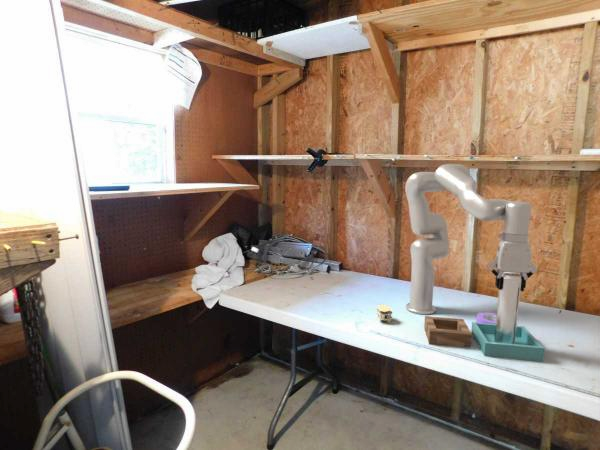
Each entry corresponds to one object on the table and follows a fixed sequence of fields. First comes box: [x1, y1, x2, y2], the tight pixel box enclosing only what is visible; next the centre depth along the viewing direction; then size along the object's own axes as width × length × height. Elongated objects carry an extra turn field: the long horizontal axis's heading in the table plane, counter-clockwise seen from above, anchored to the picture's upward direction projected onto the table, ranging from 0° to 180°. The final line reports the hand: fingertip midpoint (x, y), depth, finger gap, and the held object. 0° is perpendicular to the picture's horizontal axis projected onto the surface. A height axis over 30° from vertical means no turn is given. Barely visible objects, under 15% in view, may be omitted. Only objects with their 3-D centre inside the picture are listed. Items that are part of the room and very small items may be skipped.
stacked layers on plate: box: [375, 304, 393, 323], centre depth 159 cm, size 10×9×6 cm
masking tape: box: [476, 312, 497, 324], centre depth 155 cm, size 12×12×4 cm
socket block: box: [423, 315, 473, 349], centre depth 144 cm, size 14×14×5 cm
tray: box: [470, 321, 546, 362], centre depth 137 cm, size 18×18×4 cm
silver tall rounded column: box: [494, 272, 522, 344], centre depth 136 cm, size 6×6×25 cm
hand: (509, 288), depth 135 cm, fingers closed on silver tall rounded column, 6 cm apart
